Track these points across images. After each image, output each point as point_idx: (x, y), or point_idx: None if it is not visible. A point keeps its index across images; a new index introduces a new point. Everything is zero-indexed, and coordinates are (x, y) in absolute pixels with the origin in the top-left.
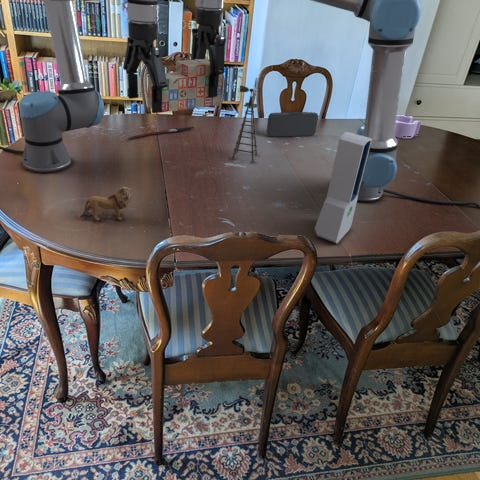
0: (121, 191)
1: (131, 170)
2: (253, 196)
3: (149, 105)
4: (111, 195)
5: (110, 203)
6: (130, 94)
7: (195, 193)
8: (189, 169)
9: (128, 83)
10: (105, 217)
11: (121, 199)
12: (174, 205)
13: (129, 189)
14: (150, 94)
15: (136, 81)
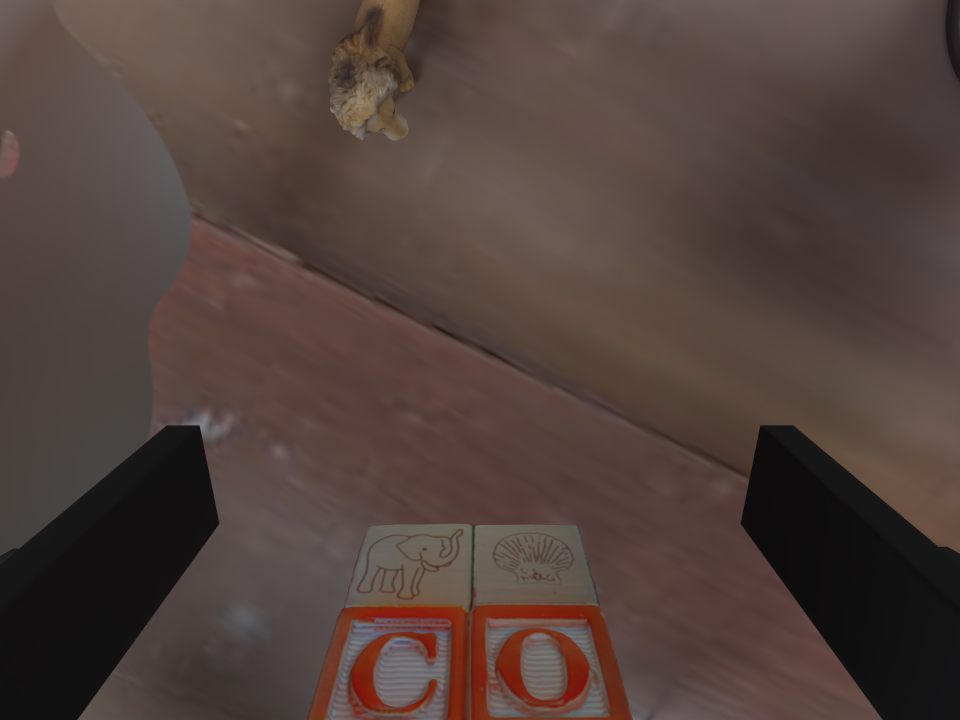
0: (344, 72)
1: (739, 328)
2: (324, 588)
3: (557, 535)
4: (371, 25)
5: (357, 15)
6: (784, 462)
7: (431, 443)
8: (615, 523)
9: (917, 547)
10: None
11: (332, 65)
12: (381, 329)
13: (348, 122)
14: (548, 635)
15: (876, 681)
